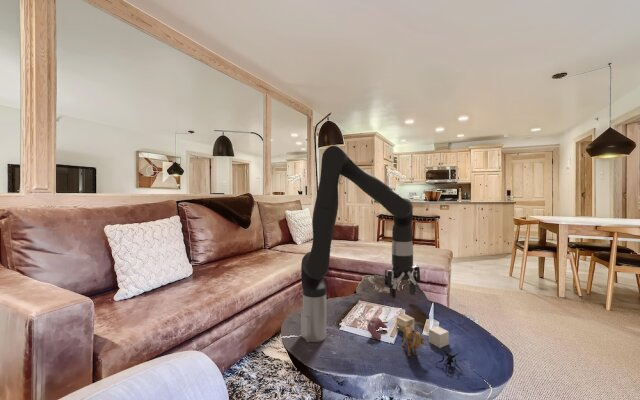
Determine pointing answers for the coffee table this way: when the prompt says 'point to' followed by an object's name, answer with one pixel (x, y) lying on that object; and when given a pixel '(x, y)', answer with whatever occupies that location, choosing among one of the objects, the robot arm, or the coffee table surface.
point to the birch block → (405, 322)
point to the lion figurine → (412, 340)
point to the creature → (449, 361)
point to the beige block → (438, 336)
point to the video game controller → (375, 327)
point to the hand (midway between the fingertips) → (402, 295)
